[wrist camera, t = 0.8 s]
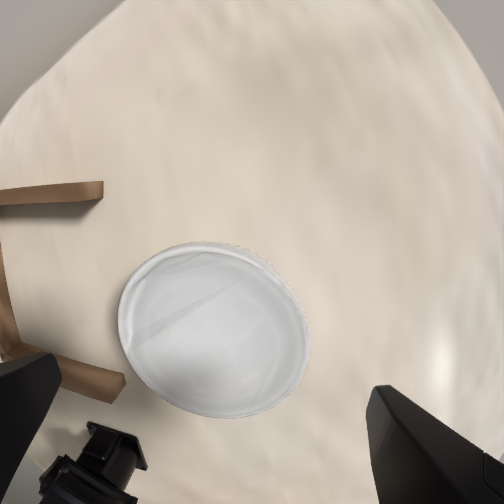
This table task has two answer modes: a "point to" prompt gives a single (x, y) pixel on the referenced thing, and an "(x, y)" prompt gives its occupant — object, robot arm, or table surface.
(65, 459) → the robot arm
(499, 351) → the table surface
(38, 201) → the walnut dock
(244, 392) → the ramekin
